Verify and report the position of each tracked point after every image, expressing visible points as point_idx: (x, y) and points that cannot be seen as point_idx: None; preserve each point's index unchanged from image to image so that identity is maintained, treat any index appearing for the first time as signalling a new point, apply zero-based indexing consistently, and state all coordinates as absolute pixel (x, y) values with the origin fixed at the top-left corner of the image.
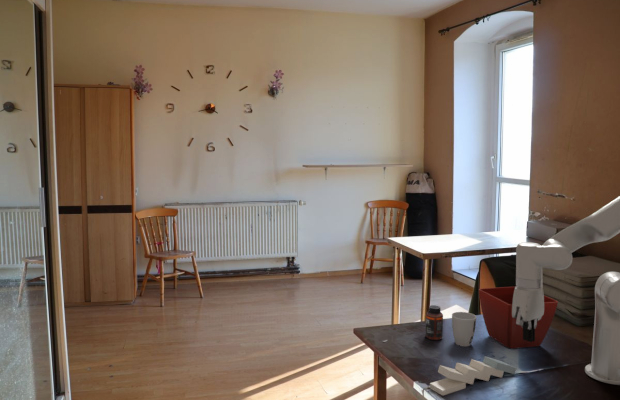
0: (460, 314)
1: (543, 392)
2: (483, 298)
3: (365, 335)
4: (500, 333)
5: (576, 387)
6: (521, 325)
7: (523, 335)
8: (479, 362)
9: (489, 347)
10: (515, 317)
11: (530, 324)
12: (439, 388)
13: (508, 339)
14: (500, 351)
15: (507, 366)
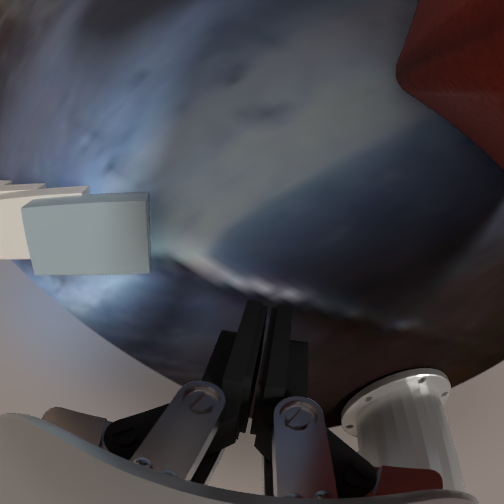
0: None
1: (145, 358)
2: None
3: None
4: (418, 6)
5: (254, 396)
6: (145, 412)
7: (242, 323)
8: (4, 221)
9: (317, 5)
10: (54, 434)
11: (199, 474)
12: None
13: (397, 71)
14: (324, 64)
15: (91, 272)
